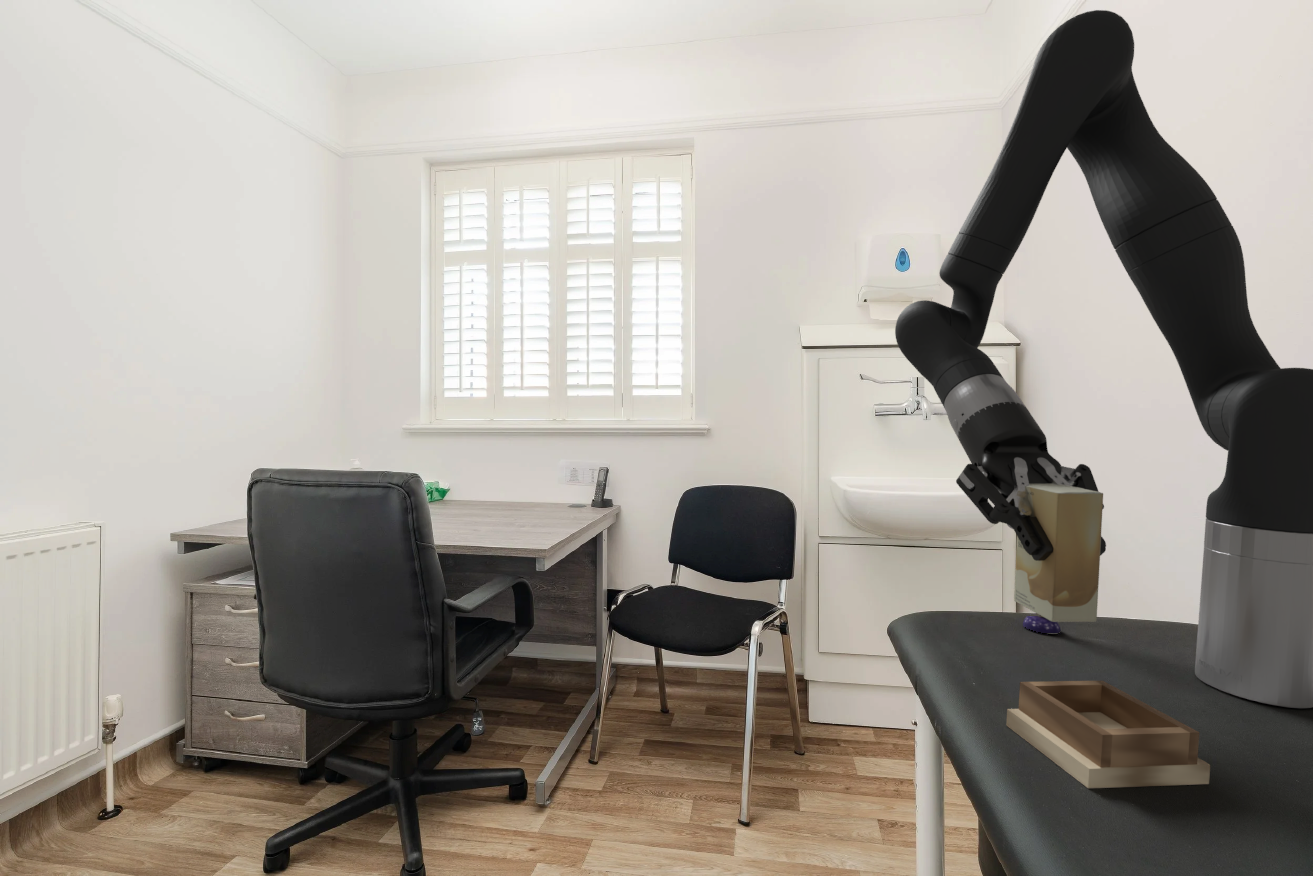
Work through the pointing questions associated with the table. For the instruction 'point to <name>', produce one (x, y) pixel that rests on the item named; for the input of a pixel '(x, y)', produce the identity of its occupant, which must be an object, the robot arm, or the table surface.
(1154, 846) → the table surface
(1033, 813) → the table surface
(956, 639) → the table surface
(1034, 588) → the skincare box
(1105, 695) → the wooden tray
